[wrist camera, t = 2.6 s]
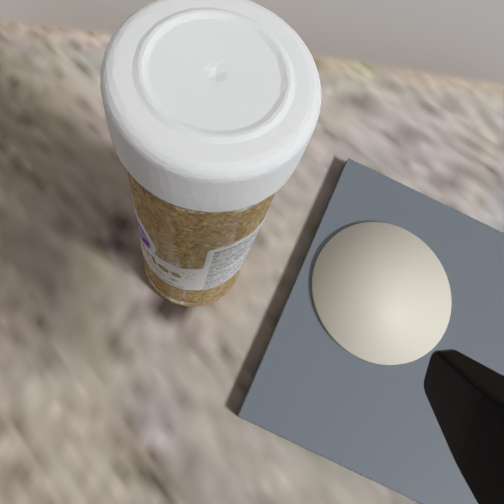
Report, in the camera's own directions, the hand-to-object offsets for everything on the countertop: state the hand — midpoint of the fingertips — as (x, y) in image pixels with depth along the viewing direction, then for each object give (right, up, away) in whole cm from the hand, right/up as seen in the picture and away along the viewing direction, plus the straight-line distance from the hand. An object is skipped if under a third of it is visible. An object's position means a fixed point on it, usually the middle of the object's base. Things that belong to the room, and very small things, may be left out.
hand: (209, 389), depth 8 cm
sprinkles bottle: (-2, +2, +13) cm, 14 cm away
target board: (+8, -1, +14) cm, 16 cm away
